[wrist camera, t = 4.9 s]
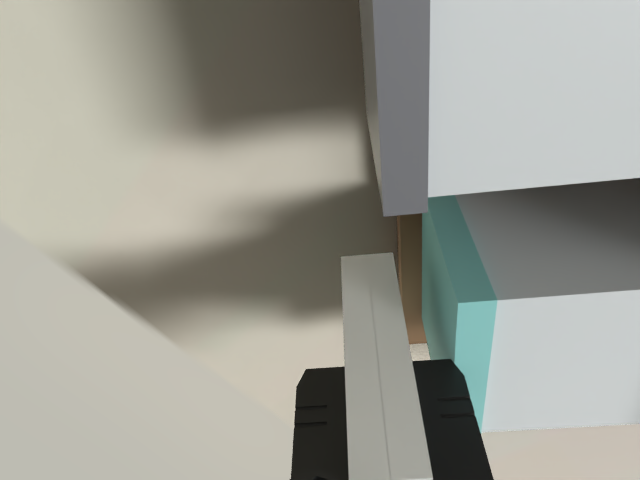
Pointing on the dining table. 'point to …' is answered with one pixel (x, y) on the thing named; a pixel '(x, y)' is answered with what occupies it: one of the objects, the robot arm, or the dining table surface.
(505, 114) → the charcoal key
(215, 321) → the dining table surface
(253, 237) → the dining table surface
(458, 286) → the teal key
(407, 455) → the robot arm
